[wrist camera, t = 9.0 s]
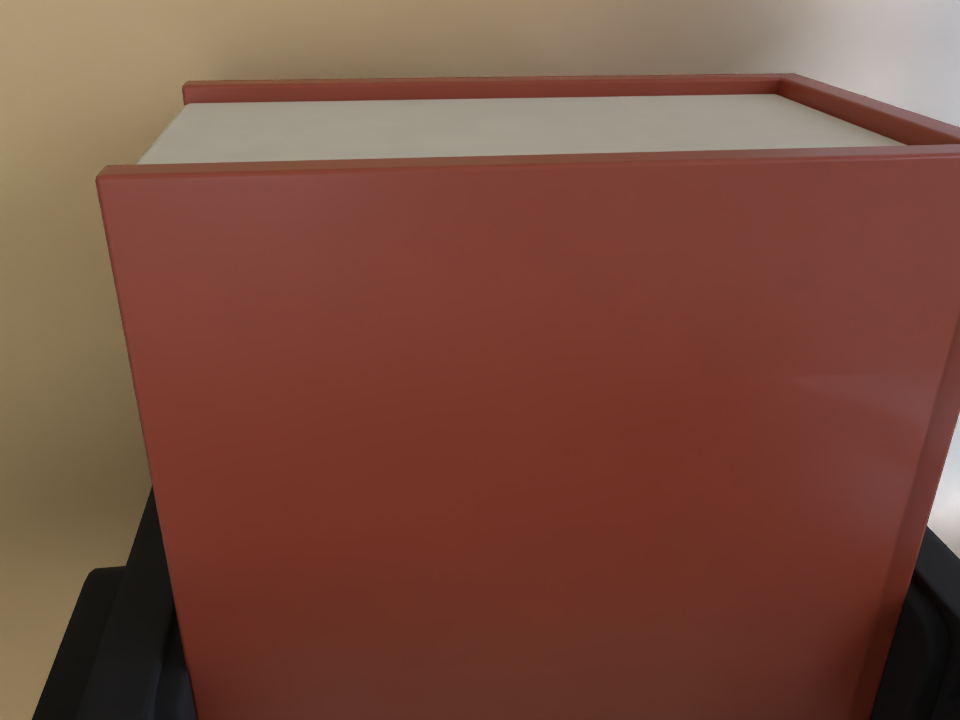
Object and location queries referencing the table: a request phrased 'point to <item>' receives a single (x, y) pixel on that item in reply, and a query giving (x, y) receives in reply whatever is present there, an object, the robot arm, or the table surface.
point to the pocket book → (540, 390)
